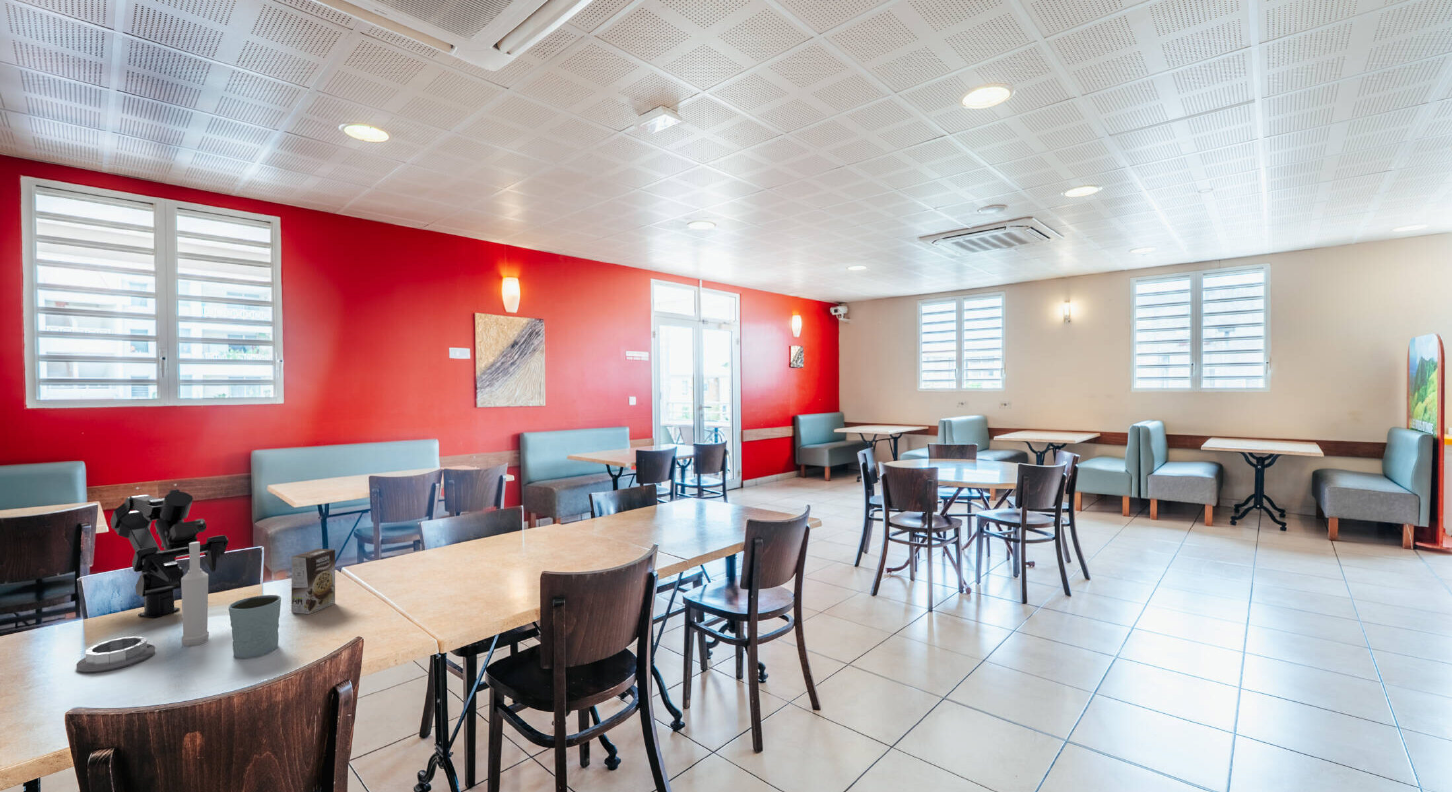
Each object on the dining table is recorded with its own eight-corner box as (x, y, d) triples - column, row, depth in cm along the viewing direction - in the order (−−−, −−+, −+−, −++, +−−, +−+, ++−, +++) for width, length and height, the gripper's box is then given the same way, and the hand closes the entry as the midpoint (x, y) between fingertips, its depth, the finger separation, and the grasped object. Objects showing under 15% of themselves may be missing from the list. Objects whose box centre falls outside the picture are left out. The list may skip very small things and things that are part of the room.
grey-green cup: (239, 663, 141) (239, 612, 141) (221, 653, 146) (221, 603, 146) (289, 647, 150) (288, 599, 149) (270, 638, 155) (270, 591, 155)
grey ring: (61, 669, 138) (60, 654, 137) (129, 645, 150) (129, 631, 150) (103, 676, 135) (103, 660, 134) (169, 651, 147) (169, 636, 147)
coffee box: (309, 614, 171) (309, 557, 170) (290, 612, 172) (290, 556, 172) (336, 603, 180) (336, 549, 179) (318, 601, 181) (317, 547, 181)
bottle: (178, 648, 149) (177, 546, 148) (185, 640, 154) (184, 541, 153) (205, 644, 151) (204, 544, 151) (211, 636, 156) (210, 539, 155)
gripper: (133, 518, 154) (151, 562, 148) (223, 505, 170) (243, 545, 164) (124, 549, 158) (142, 594, 151) (213, 534, 174) (233, 574, 167)
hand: (192, 575), depth 158 cm, fingers open, 9 cm apart
